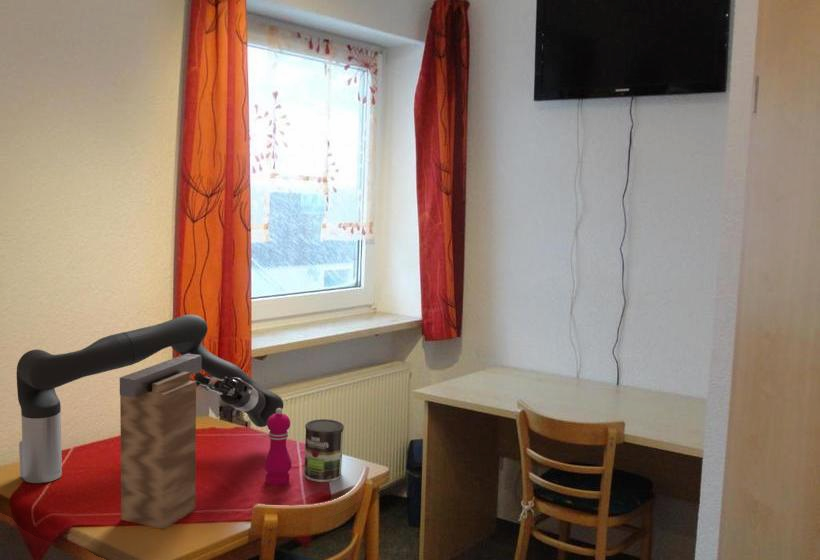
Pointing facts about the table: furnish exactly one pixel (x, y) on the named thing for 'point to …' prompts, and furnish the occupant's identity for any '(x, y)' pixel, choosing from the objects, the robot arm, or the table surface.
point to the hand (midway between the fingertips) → (210, 378)
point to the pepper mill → (278, 450)
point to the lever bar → (158, 374)
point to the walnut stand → (159, 453)
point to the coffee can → (323, 450)
